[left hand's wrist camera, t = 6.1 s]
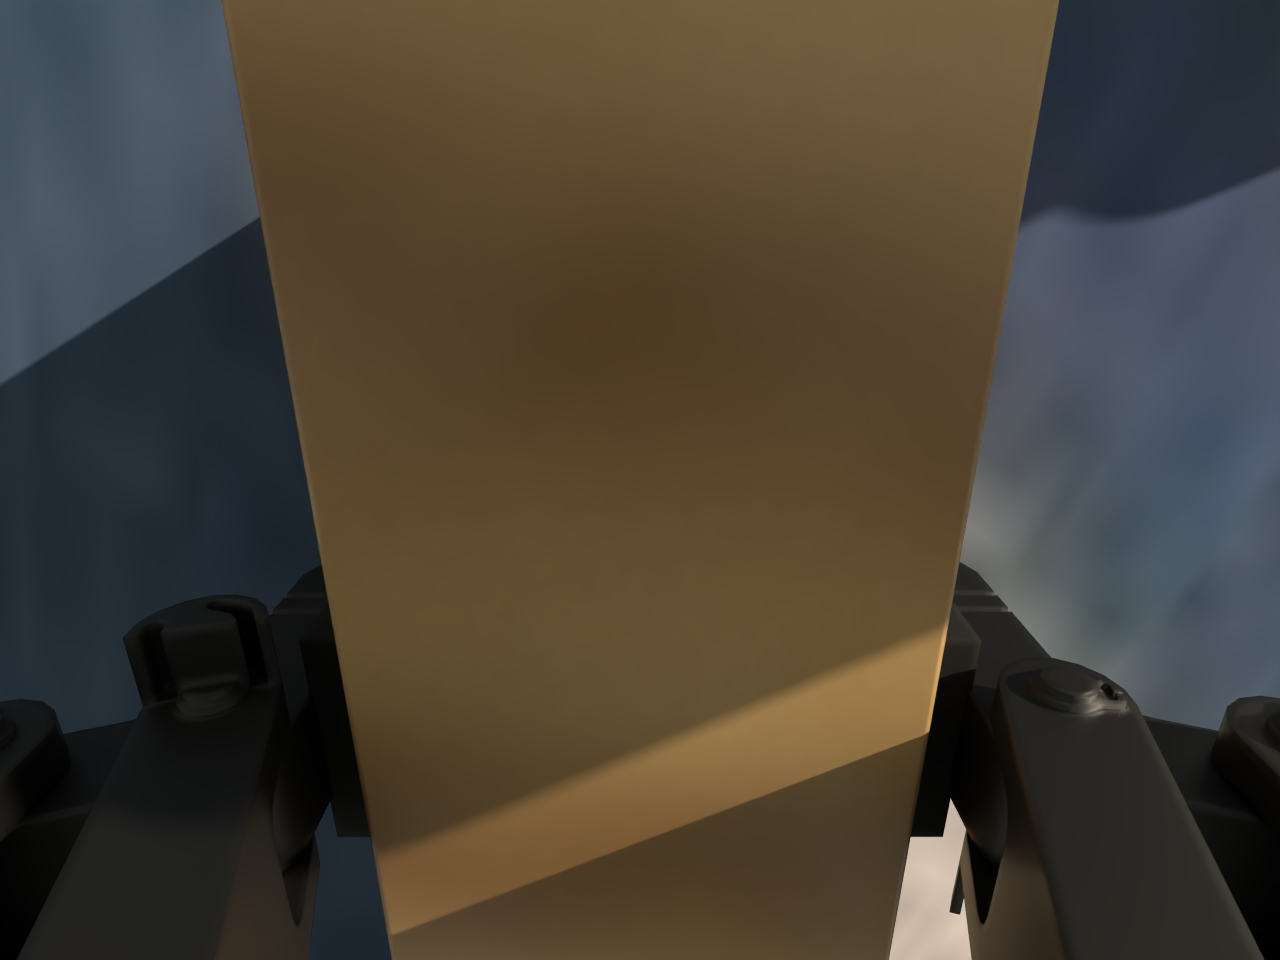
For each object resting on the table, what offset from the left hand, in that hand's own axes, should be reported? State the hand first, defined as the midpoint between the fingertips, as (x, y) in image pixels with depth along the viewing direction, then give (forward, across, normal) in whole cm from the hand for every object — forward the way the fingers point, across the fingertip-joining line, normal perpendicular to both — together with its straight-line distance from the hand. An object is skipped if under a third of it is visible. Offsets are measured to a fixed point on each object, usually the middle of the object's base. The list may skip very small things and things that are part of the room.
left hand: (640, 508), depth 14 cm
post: (+1, 0, -24) cm, 24 cm away
